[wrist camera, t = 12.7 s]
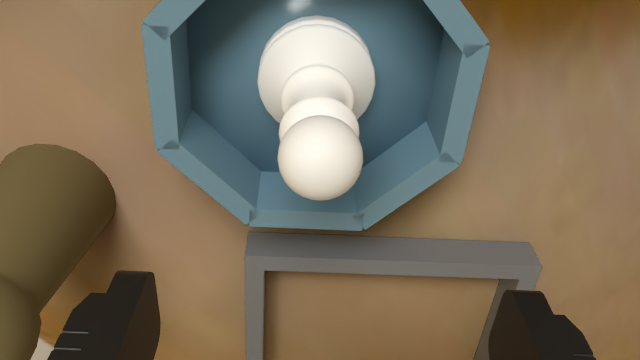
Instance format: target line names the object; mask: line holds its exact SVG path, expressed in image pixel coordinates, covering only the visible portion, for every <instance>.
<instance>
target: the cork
mask: <svg viewBox="0 0 640 360" xmlns="http://www.w3.org/2000/svg"><path fill="white" fill-rule="evenodd" d="M115 206H116V202H115V195H114V190H113V188H112V186H111V184H110V182H109V180H108V178H107V176H106V175H105V174H104V173H103V172H102V171H101V170H100V169H99V168H98V167H97V166H96V165H95V164H94V163H93V162H92V161H91V160H89V159H87V158H86V157H84V156H82V155H81V154H79V153H77V152H76V151H73V150H70V149H67V148H63V147H60V146H57V145H46V144H34V145H29V146H25V147H20V148H18V149H16V150H15V151H13V152H12V153H10V154H9V155H7V156H6V157H5V158H4V160H3V161H2V163H1V164H0V360H30V359H31V357H32V355H33V353H34V351H35V349H36V347H37V342H38V338H39V333H40V327H41V319H40V315H39V313H40V312H41V310H42V309H43V308H44V307H45V305H46V304H47V303H48V301H49V300H50V299H51V297H52V296H53V295H54V293H55V292H56V291H57V289H58V288H59V287H60V286H61V284H62V283H63V282H64V280H65V279H66V278H67V276H68V275H69V274H70V272H71V271H72V270H73V269H74V267H75V266H76V265H77V263H78V262H79V261H80V259H81V258H82V257H83V255H84V254H85V253H86V252H87V250H88V249H89V248H90V246H91V245H92V244H93V242H94V241H95V240H96V238H97V237H98V236H99V235H100V233H101V232H102V231H103V229H104V228H105V227H106V225H107V224H108V223H109V221H110V220H111V219H112V217H113V213H114V210H115Z"/></svg>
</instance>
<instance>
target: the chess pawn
mask: <svg viewBox="0 0 640 360" xmlns="http://www.w3.org/2000/svg"><path fill="white" fill-rule="evenodd" d="M257 84H258V89H259V94H260V98H261V100H262V102H263V104H264V106H265V108H266V110H267V111H268V112H269V113H270V115H271V116H272V117H273V118H274V119H275V120H276V121H277V122H278V123H280V127H279V138H280V145H279V150H278V158H277V159H278V165H279V171H280V173H281V175H282V177H283V179H284V181H285V183H286V184H287V185H288V186H289V187H290V188H291V189H292V190H293V191H294V192H295V193H297V194H299V195H300V196H302V197H305V198H308V199H311V200H319V201H322V200H330V199H333V198H336V197H339V196H340V195H342V194H344V193H345V192H347V191H348V190H349V189H350V188H351V187H352V186H353V185H354V184H355V182H356V180H357V179H358V177H359V175H360V173H361V169H362V164H363V150H362V146H361V143H360V141H359V124H358V121H357V120H358V118H359V117H360V116H361V115H362V114H363V113H364V112H365V111H366V109H367V107H368V105H369V103H370V101H371V100H372V97H373V93H374V88H375V84H376V83H375V68H374V66H373V62H372V59H371V56H370V53H369V50H368V47H367V45H366V43H365V42H364V41H363V39H362V38H361V36H360V35H359V34H358V33H357V32H356V31H355V30H354V29H353V28H351V27H350V26H349V25H348V24H346V23H344V22H342V21H339V20H337V19H335V18H332V17H325V16H318V15H315V16H307V17H301V18H298V19H296V20H293V21H291V22H288V23H286V24H285V25H284V26H282V27H281V28H280V29H279V30H277V31H276V32H275V33H274V34H273V36H272V37H271V38H270V39H269V41H268V42H267V43H266V45H265V48H264V51H263V53H262V56H261V59H260V66H259V70H258V80H257Z"/></svg>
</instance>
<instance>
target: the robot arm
mask: <svg viewBox="0 0 640 360" xmlns="http://www.w3.org/2000/svg"><path fill="white" fill-rule="evenodd" d="M159 335H160V314H159V306H158V299H157V291H156V284H155V277H154V274H153V272H142V271H120V270H119V271H117V272H116V274H115V276H114V278H113V280H112V282H111V284H110V286H109V289H108V291H107V293H91V294H89V295H88V296H87V297H86V298H85V299H84V300H83V301H82V302H81V303H80V304H79V305H78V306H76V307H75V308H74V309H73V310H72V312H71V314H70V316H69V318H68V320H67V322H66V324H65V326H64V328H63V332H62V334H60V336H59V338H58V340H57V342H56V344H55V346H54V350H53V351H52V352H51V354H50V356H49V357H48V359H47V360H153V359H154V356H155V353H156V349H157V346H158V341H159ZM488 352H489V359H490V360H596V358H594V357H593V352H592V350H591V349H590V347H589V345H588V343H587V341H586V339H585V337H584V335H583V333H582V332H581V331H580V330H579V329H578V328H577V327H576V326H575V325H574V324H573V323H572V322H571V321H570V320H569V319H568V318H567V317H566V316H565V315H554V314H553V312H552V310H551V308H550V306H549V304H548V302H547V300H546V298H545V296H544V294H543V293H542V292H540V291H530V290H506V291H505V292H504V293H503V295H502V298H501V301H500V304H499V307H498V310H497V313H496V316H495V319H494V322H493V325H492V328H491V331H490V334H489V340H488Z"/></svg>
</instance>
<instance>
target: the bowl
mask: <svg viewBox="0 0 640 360" xmlns="http://www.w3.org/2000/svg"><path fill="white" fill-rule="evenodd" d="M315 15H318V16H325V17H332V18H335V19H337V20H339V21H342V22H344V23H346V24H348V25H349V26H350V27H351V28H353V29H354V30H355V31H356V32H357V33H358V34H359V35H360V36H361V38H362V39H363V41H364V42H365V43H366V45H367V47H368V50H369V53H370V56H371V59H372V62H373V66H374V68H375V83H376V84H375V88H374V93H373V97H372V100H371V101H370V103H369V105H368V107H367V109H366V111H365V112H364V113H363V114H362V115H361V116H360V117H359V118H358V120H357V121H358V124H359V141H360V143H361V146H362V150H363V164H362V169H361V173H360V175H359V177H358V179H357V180H356V182H355V184H354V185H353V186H352V187H351V188H350V189H349V190H348V191H347V192H345V193H344V194H342V195H340V196H339V197H336V198H333V199H330V200H322V201H319V200H311V199H308V198H305V197H302V196H300V195H299V194H297V193H295V192H294V191H293V190H292V189H291V188H290V187H289V186H288V185H287V184H286V183H285V181H284V179H283V177H282V175H281V173H280V171H279V165H278V159H277V158H278V150H279V145H280V138H279V127H280V123H278V122H277V121H276V120H275V119H274V118H273V117H272V116H271V115H270V113H269V112H268V111H267V110H266V108H265V106H264V104H263V102H262V100H261V98H260V94H259V89H258V84H257V80H258V70H259V66H260V59H261V56H262V53H263V51H264V48H265V45H266V43H267V42H268V41H269V39H270V38H271V37H272V36H273V34H274V33H275V32H276V31H277V30H279V29H280V28H281V27H282V26H284V25H285V24H286V23H288V22H291V21H293V20H296V19H298V18H301V17H307V16H315ZM143 22H144V23H143V24H142V25H141V26H142V35H143V44H144V53H145V62H146V71H147V80H148V89H149V98H150V108H151V117H152V126H153V135H154V144H155V149H158V151H157V153H159V154H160V155H161V156H162V157H164V158H165V159H166V160H167V161H168V162H170V163H171V164H172V165H173V166H174V167H176V168H177V169H178V170H179V171H181V172H182V173H183V174H184V175H185V176H187V177H188V178H189V179H190V180H191V181H193V182H194V183H195V184H196V185H198V186H199V187H200V188H201V189H202V190H204V191H205V192H206V193H207V194H208V195H210V196H211V197H212V198H213V199H215V200H216V201H217V202H218V203H219V204H221V205H222V206H223V207H224V208H225V209H227V210H228V211H229V212H230V213H232V214H233V215H234V216H235V217H236V218H238V219H239V220H240V221H241V222H242V223H244V224H245V225H247V224H248V223H249V227H274V228H299V229H325V230H350V231H362V227H363V228H364V229H365V230H366V229H367V228H369V227H370V226H372V225H373V224H375V223H376V222H378V221H379V220H381V219H382V218H384V217H385V216H387V215H388V214H390V213H391V212H393V211H394V210H396V209H397V208H399V207H400V206H401V205H403V204H404V203H406V202H407V201H409V200H410V199H412V198H413V197H415V196H416V195H418V194H419V193H421V192H422V191H424V190H425V189H427V188H428V187H430V186H431V185H432V184H434V183H435V182H437V181H438V180H440V179H441V178H443V177H444V176H446V175H447V174H449V173H450V172H452V171H453V170H455V169H456V168H458V167H459V164H458V163H462V160H463V156H464V152H465V148H466V144H467V140H468V135H469V131H470V127H471V123H472V119H473V115H474V111H475V107H476V103H477V99H478V94H479V90H480V86H481V82H482V78H483V74H484V70H485V66H486V62H487V58H488V53H489V49H490V45H489V44H488V42H490V41H489V40H488V39H487V37H486V36H485V34H484V33H483V32H482V30H481V29H480V28H479V26H478V25H477V23H476V22H475V21H474V19H473V18H472V16H471V15H470V14H469V12H468V11H467V9H466V8H465V7H464V5H463V4H462V3H461V1H460V0H160V1H159V2H158V3H157V4H156V5H155V7H154V8H153V9H152V10H151V11H150V13H149V14H148V15H147V16H146V18H145V19H144V20H143Z"/></svg>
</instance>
